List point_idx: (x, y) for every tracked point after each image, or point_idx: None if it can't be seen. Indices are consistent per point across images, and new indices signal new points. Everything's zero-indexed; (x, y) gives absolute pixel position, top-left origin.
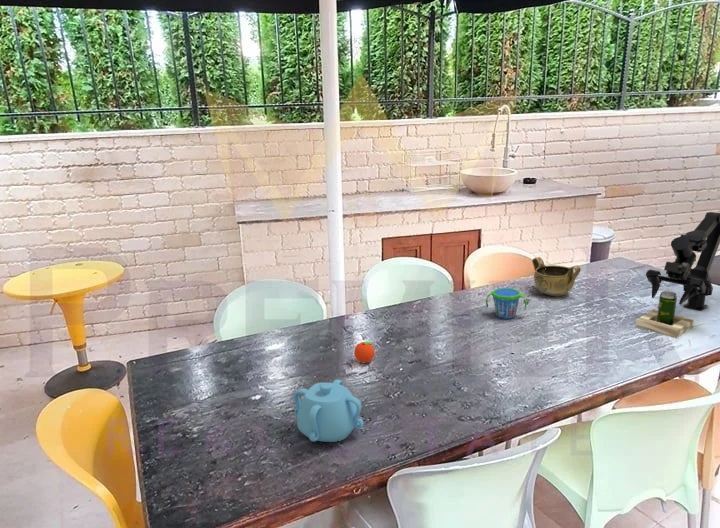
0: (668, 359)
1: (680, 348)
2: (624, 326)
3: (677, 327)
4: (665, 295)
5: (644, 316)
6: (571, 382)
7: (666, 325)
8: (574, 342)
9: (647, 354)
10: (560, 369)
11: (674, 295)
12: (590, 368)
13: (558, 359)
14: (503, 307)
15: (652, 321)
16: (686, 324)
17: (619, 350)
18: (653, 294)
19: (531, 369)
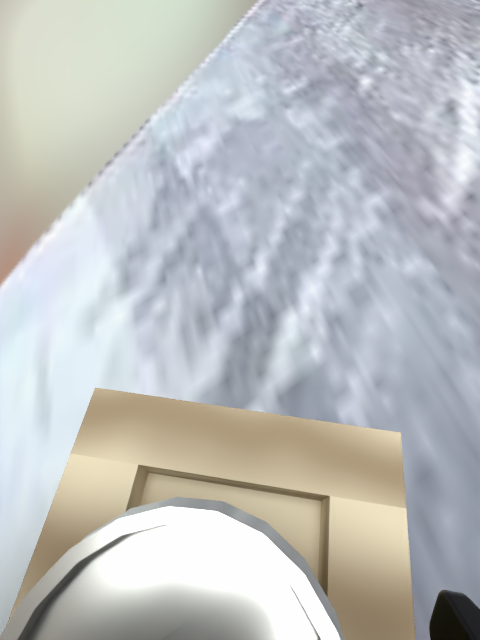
0: (130, 176)
1: (89, 286)
2: (431, 407)
3: (98, 453)
4: (207, 514)
5: (389, 556)
6: (314, 4)
7: (177, 444)
8: (460, 136)
9: (206, 175)
10: (368, 25)
11: (17, 622)
12: (315, 51)
13: (408, 50)
14: None
15: (288, 465)
16: (24, 584)
17: (303, 156)
18: (472, 634)
19: (417, 5)
